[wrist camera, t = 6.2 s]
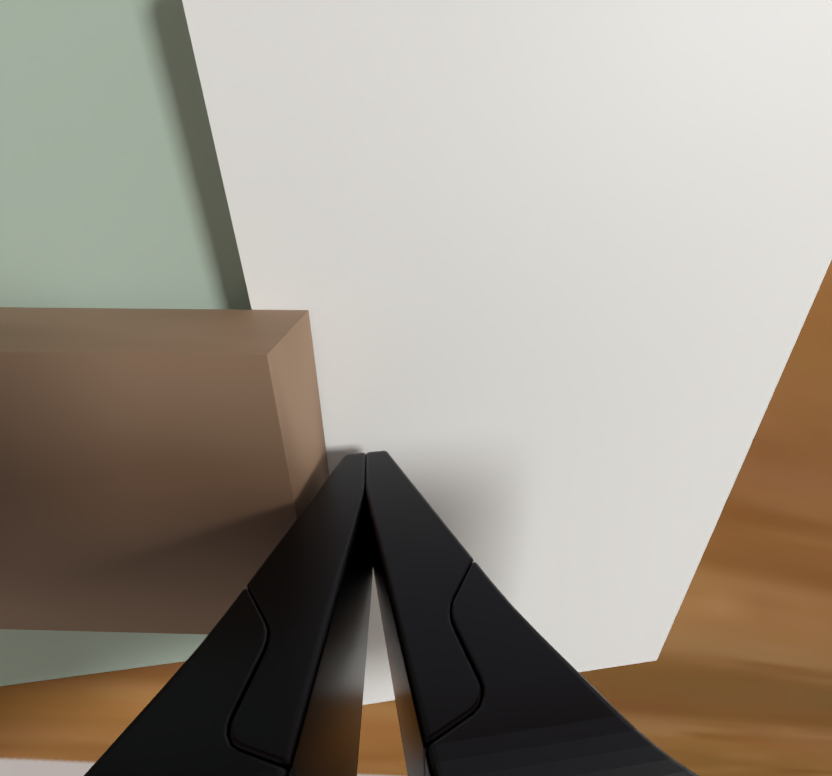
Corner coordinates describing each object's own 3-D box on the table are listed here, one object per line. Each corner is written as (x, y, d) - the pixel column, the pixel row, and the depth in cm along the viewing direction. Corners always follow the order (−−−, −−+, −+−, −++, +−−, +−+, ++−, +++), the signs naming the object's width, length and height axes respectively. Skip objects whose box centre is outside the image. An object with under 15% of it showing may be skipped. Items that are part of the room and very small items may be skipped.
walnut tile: (338, 552, 10) (319, 637, 8) (14, 545, 10) (-79, 627, 8) (308, 310, 7) (266, 354, 5) (-143, 306, 7) (-339, 348, 5)
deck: (630, 618, 15) (656, 660, 14) (343, 659, 14) (341, 708, 13) (854, -12, 7) (969, -57, 6) (208, -20, 6) (164, -78, 5)
